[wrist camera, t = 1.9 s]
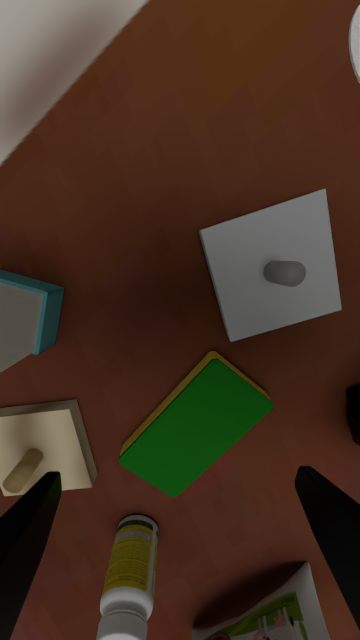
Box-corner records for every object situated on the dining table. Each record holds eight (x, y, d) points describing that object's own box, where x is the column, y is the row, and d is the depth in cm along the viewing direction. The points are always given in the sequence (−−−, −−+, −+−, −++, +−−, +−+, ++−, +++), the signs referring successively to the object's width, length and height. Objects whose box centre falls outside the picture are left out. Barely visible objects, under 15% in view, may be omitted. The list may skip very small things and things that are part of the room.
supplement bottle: (109, 522, 26) (77, 642, 18) (145, 507, 25) (129, 624, 17) (131, 548, 27) (110, 673, 19) (166, 534, 26) (160, 657, 18)
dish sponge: (122, 442, 24) (115, 463, 21) (211, 347, 21) (215, 358, 19) (174, 477, 25) (174, 500, 23) (266, 391, 22) (276, 406, 20)
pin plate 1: (76, 399, 22) (50, 434, 17) (97, 473, 24) (79, 520, 20) (-15, 409, 22) (-62, 446, 18) (14, 482, 24) (-21, 530, 20)
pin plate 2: (313, 194, 17) (357, 172, 13) (329, 306, 20) (372, 319, 15) (198, 232, 18) (204, 223, 14) (227, 336, 20) (240, 357, 16)
